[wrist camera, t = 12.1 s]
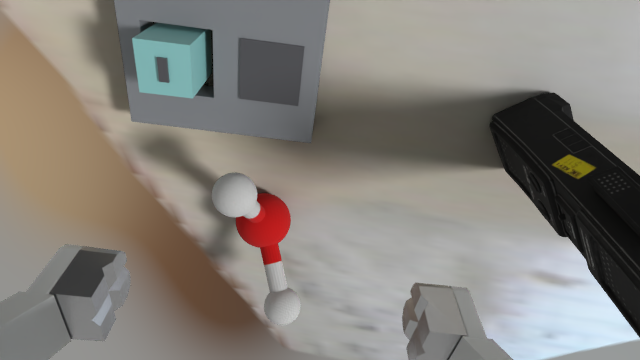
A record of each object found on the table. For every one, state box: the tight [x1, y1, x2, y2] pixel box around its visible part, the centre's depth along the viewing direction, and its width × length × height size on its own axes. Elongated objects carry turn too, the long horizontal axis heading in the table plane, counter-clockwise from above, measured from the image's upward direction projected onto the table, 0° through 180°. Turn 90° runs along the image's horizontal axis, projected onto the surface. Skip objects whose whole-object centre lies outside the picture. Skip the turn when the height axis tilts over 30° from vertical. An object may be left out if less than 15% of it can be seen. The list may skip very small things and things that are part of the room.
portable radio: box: [490, 93, 640, 337], centre depth 27 cm, size 8×6×25 cm
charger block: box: [132, 22, 212, 98], centre depth 31 cm, size 4×4×6 cm
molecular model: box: [212, 173, 301, 325], centre depth 39 cm, size 18×6×10 cm, turn 13°
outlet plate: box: [114, 0, 330, 143], centre depth 33 cm, size 14×16×3 cm
